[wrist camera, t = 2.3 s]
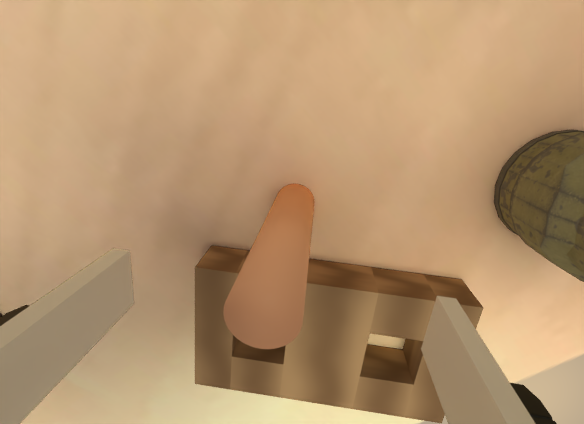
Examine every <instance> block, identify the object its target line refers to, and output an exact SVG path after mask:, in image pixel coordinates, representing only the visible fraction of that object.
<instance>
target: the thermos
mask: <svg viewBox="0 0 584 424" xmlns="http://www.w3.org/2000/svg"><path fill="white" fill-rule="evenodd" d="M494 203H495V207H496V210H497V213H498V216H499V218H500V219H501V220H502V222H503V223H504V224H505V225H506V227H507V228H508V229H509V230H511V231H512V232H514V233H516V234H517V235H519V236H520V237H521V239H522V240H523V241H524V242H525V244H527V245H528V246H529V247H531V248H532V249H534V250H535V251H536V252H538V253H539V254H541V255H542V256H543V257H545V258H546V259H548V260H549V261H550V262H552V263H553V264H555V265H557V266H558V267H560V268H561V269H563V270H565V271H566V272H568V273H569V274H571V275H572V276H574V277H576V278H577V279H579V280H580V281H583V282H584V131H579V130H566V131H557V132H551V133H548V134H546V135H543V136H541V137H538V138H536V139H533V140H531V141H530V142H529V143H527V144H526V145H525V146H523V147H522V148H521V149H519V150H518V151H516V152H515V153H514V154H513V156H512V157H511V158H510V159H509V161H508V162H507V163H506V164H505V166H504V167H503V168H502V170H501V173H500V175H499V177H498V180H497V182H496V185H495V196H494Z"/></svg>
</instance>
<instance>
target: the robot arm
mask: <svg viewBox="0 0 584 424" xmlns="http://www.w3.org/2000/svg"><path fill="white" fill-rule="evenodd" d="M133 304H134V295H133V282H132V269H131V256H130V250H123V249H116V248H113V249H111V250H110V251H108V252H107V253H106V254H104V255H103V256H101V257H100V258H98V259H97V260H95V261H94V262H93V263H91V264H90V265H88V266H87V267H85V268H84V269H82V270H81V271H80V272H78V273H77V274H75V275H74V276H72V277H71V278H69V279H68V280H67V281H65V282H64V283H62V284H61V285H59V286H58V287H56V288H55V289H54V290H52V291H51V292H49V293H48V294H46V295H45V296H43V297H42V298H41V299H39V300H38V301H36V302H35V303H33V304H32V305H30V306H29V305H25V306H22V307H20V308H18V309H15V310H13V311H11V312H8V313H6V314H5V315H3V316H2V317H1V316H0V424H20V423H21V422H22V421H23V420H24V419H25V418H26V417H27V416H28V415H29V413H30V412H31V411H32V410H33V409H34V408H35V407H36V406H37V405H38V404H39V403H40V402H41V401H42V400H43V399H44V398H45V397H46V396H47V395H48V394H49V392H50V391H51V390H52V389H53V388H54V387H55V386H56V385H57V384H58V383H59V382H60V381H61V380H62V379H63V378H64V377H65V376H66V375H67V374H68V373H69V371H70V370H71V369H72V368H73V367H74V366H75V365H76V364H77V363H78V362H79V361H80V360H81V359H82V358H83V357H84V356H85V355H86V354H87V353H88V352H89V350H90V349H91V348H92V347H93V346H94V345H95V344H96V343H97V342H98V341H99V340H100V339H101V338H102V337H103V336H104V335H105V334H106V333H107V332H108V331H109V330H110V328H111V327H112V326H113V325H114V324H115V323H116V322H117V321H118V320H119V319H120V318H121V317H122V316H123V315H124V314H125V313H126V312H127V311H128V310H129V309H130V307H131V306H132V305H133ZM421 351H422V353H423V356H424V359H425V362H426V364H427V367H428V370H429V372H430V375H431V378H432V381H433V383H434V386H435V389H436V392H437V394H438V397H439V400H440V403H441V405H442V408H443V411H444V413H445V416H446V419H447V422H448V424H556V422H555V421H553V420H552V417H551V415H550V414H549V413H548V411H547V409H546V408H545V407H544V405H543V404H542V402H541V401H540V400H539V399H538V398H537V397H536V396H535V395H534V394H532V393H531V392H530V391H529V390H528V389H527V388H526V387H525V386H524V385H520V384H514V383H509V381H508V379H507V378H506V376H505V375H504V373H503V372H502V370H501V368H500V367H499V365H498V364H497V362H496V361H495V359H494V357H493V356H492V354H491V353H490V351H489V349H488V348H487V346H486V345H485V343H484V342H483V340H482V338H481V337H480V335H479V334H478V332H477V331H476V329H475V327H474V326H473V324H472V323H471V321H470V320H469V318H468V316H467V315H466V313H465V312H464V310H463V308H462V307H461V305H460V304H459V302H458V301H457V299H456V298H449V297H442V296H437V297H436V301H435V304H434V307H433V311H432V314H431V317H430V321H429V324H428V327H427V331H426V334H425V337H424V341H423V344H422V347H421Z"/></svg>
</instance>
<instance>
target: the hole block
mask: <svg viewBox="0 0 584 424" xmlns="http://www.w3.org/2000/svg"><path fill="white" fill-rule="evenodd" d="M249 252H250V251H249V250H241V249H234V248H227V247H219V246H211V247H210V248H209V250H208V251H207V252H206V254H205V255H204V256H203V258H202V259H201V260H200V262H199V263H198V264H197V265H196V267H195V384H200V385H206V386H213V387H219V388H225V389H231V390H238V391H244V392H250V393H256V394H263V395H269V396H275V397H281V398H287V399H294V400H300V401H306V402H312V403H319V404H325V405H331V406H337V407H344V408H350V409H356V410H362V411H369V412H375V413H381V414H387V415H394V416H400V417H406V418H412V419H418V420H425V421H431V422H437V423H442V421H443V418H444V415H445V413H444V411H443V408H442V405H441V403H440V400H439V397H438V394H437V392H436V389H435V386H434V383H433V381H432V378H431V375H430V372H429V370H428V367H427V364H426V362H425V359H424V356H423V353H422V351H421V347H422V344H423V341H424V337H425V334H426V331H427V327H428V324H429V321H430V317H431V314H432V311H433V307H434V304H435V301H436V297H437V296H442V297H449V298H456V299H457V301H458V302H459V304H460V305H461V307H462V308H463V310H464V312H465V313H466V315H467V316H468V318H469V320H470V321H471V323H472V324H473V326H474V327H475V329H476V327H477V324H478V321H479V318H480V316H481V313H482V310H483V307H482V305H481V304H480V303H479V301H478V300H477V299H476V297H475V296H474V295H473V294H472V292H471V291H470V290H469V288H468V287H467V286H466V284H465V283H464V282H463V280H462V279H454V278H447V277H440V276H432V275H425V274H418V273H410V272H403V271H396V270H388V269H381V268H374V267H366V266H359V265H352V264H344V263H337V262H329V261H322V260H315V259H309V264H308V274H307V285H306V295H305V306H304V316H303V324H302V328H301V331H300V332H299V334H298V335H297V337H296V338H295V339H294V340H293V341H292V342H290V343H289V344H287V345H285V346H282V347H280V348H275V349H259V348H255V347H251V346H249V345H247V344H245V343H243V342H241V341H240V340H238V339H237V338H236V337H235V336H234V335H233V334H232V333H231V332H230V330H229V329H228V327H227V325H226V323H225V320H224V315H223V310H224V304H225V301H226V299H227V297H228V295H229V293H230V291H231V289H232V287H233V285H234V283H235V281H236V279H237V277H238V275H239V272H240V270H241V268H242V266H243V264H244V262H245V260H246V258H247V256H248V254H249ZM369 333H372V334H378V335H385V336H392V337H399V338H406V340H405V344H404V347H403V350H401V349H394V348H387V347H381V346H374V345H367V342H368V338H369Z"/></svg>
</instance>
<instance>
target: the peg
mask: <svg viewBox="0 0 584 424" xmlns="http://www.w3.org/2000/svg"><path fill="white" fill-rule="evenodd" d="M313 212H314V197H313V195H312V193H311V192H310V190H309V189H307V188H306V187H305V186H303V185H300V184H290V185H287V186H285V187H283V188H282V189H281V190H280V191H279V193H278V195H277V197H276V199H275V201H274V203H273V205H272V207H271V209H270V211H269V213H268V215H267V217H266V219H265V221H264V223H263V225H262V227H261V229H260V232H259V234H258V236H257V238H256V240H255V242H254V244H253V246H252V248H251V250H250V252H249V254H248V256H247V258H246V260H245V262H244V264H243V266H242V268H241V270H240V272H239V275H238V277H237V279H236V281H235V283H234V285H233V287H232V289H231V291H230V293H229V295H228V297H227V299H226V301H225V304H224V310H223V315H224V320H225V323H226V325H227V327H228V329H229V330H230V332H231V333H232V334H233V335H234V336H235V337H236V338H237V339H238V340H240V341H241V342H243V343H245V344H247V345H249V346H251V347H255V348H259V349H275V348H280V347H282V346H285V345H287V344H289V343H290V342H292V341H293V340H294V339H295V338H296V337H297V335H298V334H299V332H300V331H301V328H302V324H303V316H304V306H305V295H306V285H307V274H308V264H309V254H310V243H311V233H312V222H313Z"/></svg>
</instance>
